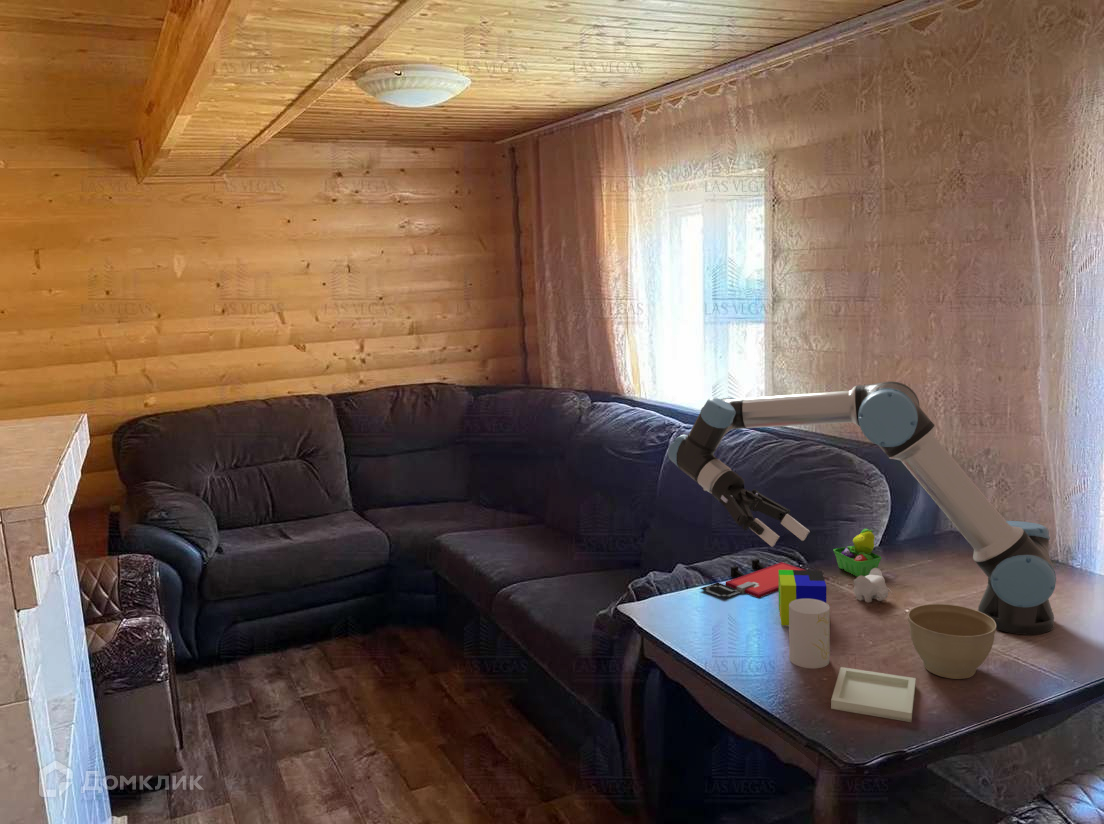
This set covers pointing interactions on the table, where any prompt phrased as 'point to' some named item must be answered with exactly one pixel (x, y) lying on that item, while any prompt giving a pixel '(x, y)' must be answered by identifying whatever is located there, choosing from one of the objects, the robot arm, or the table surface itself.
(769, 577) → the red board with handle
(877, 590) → the elephant figurine
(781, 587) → the puzzle toy
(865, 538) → the fruit basket
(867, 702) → the tray
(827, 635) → the white cylinder
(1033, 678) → the table surface
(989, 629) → the planter bowl
